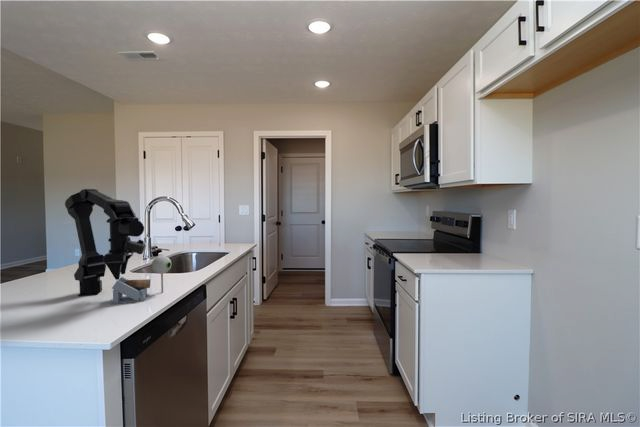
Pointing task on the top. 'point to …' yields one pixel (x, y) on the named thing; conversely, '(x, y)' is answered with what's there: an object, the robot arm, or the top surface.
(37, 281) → the top surface
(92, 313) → the top surface
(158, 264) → the lollipop
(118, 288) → the cradle
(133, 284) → the peg
